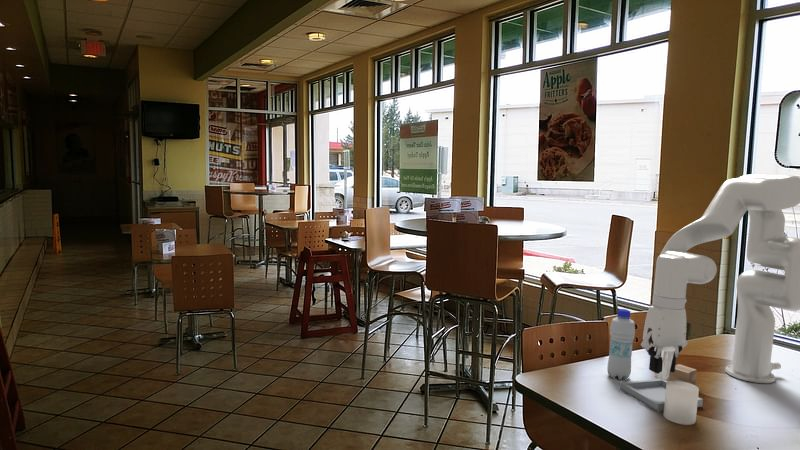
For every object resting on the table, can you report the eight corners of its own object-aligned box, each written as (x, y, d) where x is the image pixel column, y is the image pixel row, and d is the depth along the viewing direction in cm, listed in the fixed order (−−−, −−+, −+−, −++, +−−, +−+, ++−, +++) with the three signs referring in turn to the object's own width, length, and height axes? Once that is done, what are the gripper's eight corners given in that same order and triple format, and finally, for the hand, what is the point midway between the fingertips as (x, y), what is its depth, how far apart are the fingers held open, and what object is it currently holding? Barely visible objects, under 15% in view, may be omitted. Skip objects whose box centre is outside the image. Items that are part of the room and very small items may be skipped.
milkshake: (670, 375, 148) (675, 339, 147) (671, 382, 143) (676, 344, 142) (652, 372, 149) (656, 335, 148) (651, 378, 145) (656, 340, 144)
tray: (661, 385, 155) (662, 378, 155) (702, 406, 142) (702, 399, 142) (619, 389, 151) (620, 382, 151) (657, 411, 138) (657, 404, 138)
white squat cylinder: (679, 410, 139) (682, 379, 139) (702, 423, 133) (705, 390, 132) (656, 413, 137) (659, 381, 137) (678, 426, 131) (682, 393, 130)
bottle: (633, 382, 157) (639, 313, 155) (608, 379, 158) (613, 310, 156) (628, 374, 163) (634, 307, 161) (604, 371, 165) (609, 305, 162)
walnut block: (677, 380, 160) (678, 364, 159) (694, 386, 156) (696, 369, 155) (668, 384, 157) (670, 367, 156) (686, 390, 153) (688, 373, 152)
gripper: (683, 298, 150) (676, 364, 152) (631, 299, 145) (625, 367, 147) (706, 305, 143) (698, 374, 145) (652, 307, 138) (645, 378, 140)
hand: (661, 370), depth 146 cm, fingers closed on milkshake, 4 cm apart
